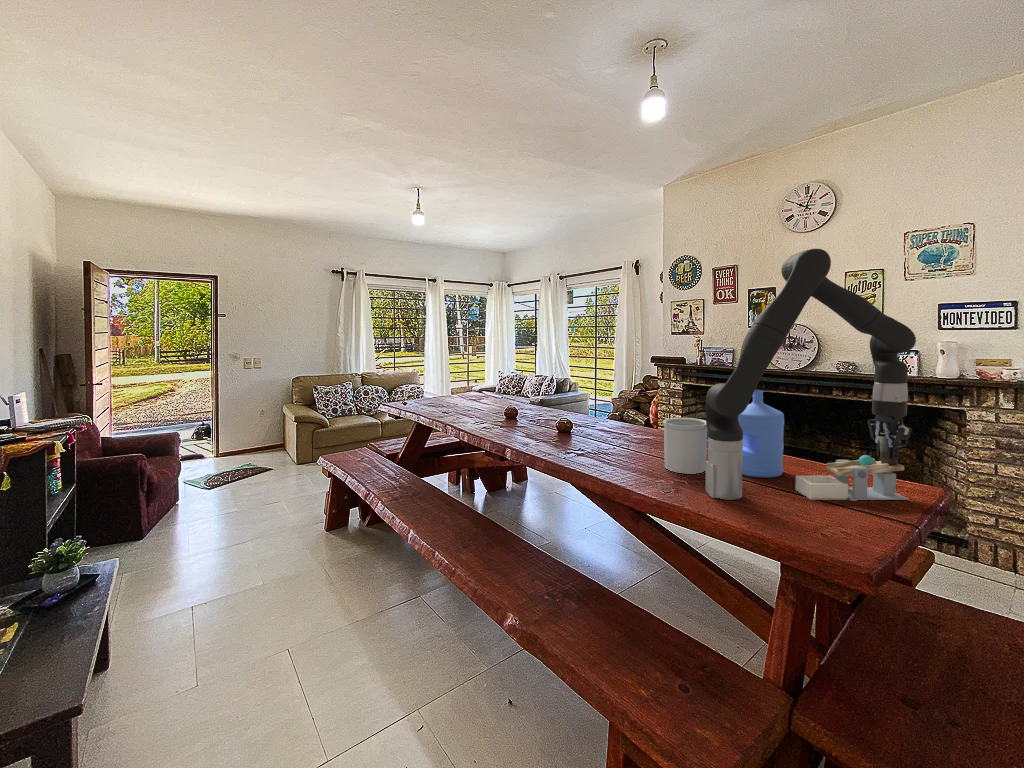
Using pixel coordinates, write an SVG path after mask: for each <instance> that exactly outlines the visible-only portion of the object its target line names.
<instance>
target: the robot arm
mask: <svg viewBox="0 0 1024 768" xmlns="http://www.w3.org/2000/svg"><path fill="white" fill-rule="evenodd" d="M831 265H832V260H831V256H830V255H829V253H828V252H827V251H826V250H825V249H822V248H810V249H806V250H803V251H801V252H798V253H794V254H793V255H790V256H788V257H787V258H786V259H785V260H784V261H783V263H782V266H781V270H780V271H781V275H782V279H784V281H785V282H786V283H785V284H784V286H783V287H782V289H781V291H780V292H779V294H778V295H777V296H776V297H775V298H774V299H773V300H772V301H771V302H770V303H768V305H767V306H766V307H765V308H764V309H763V310H762V311H761V312H760V313H759V315H758V316H757V317H756V318H755V320H754V321H753V322H752V325H751V326H750V328H749V330H748V332H747V333H746V335H745V337H744V339H743V341H742V345H741V349H740V353H739V358H738V362H737V364H736V367H735V369H734V370H733V372H732V373H731V375H730V376H729V378H728V379H727V381H726V382H725V383H724V382H722V383H721V382H719V383H717V384H714V385H713V386H711V387H709V388H708V391H707V393H706V395H705V421H706V426H707V460H706V470H705V488H704V489H705V490H706V491H705V492H706V493H707V494H708V495H709V496H710V497H711V498H712V499H719V498H720V500H728V501H731V500H732V501H734V500H740V499H741V498H742V497H743V475H742V468H743V430H742V428H741V426H740V424H739V421H738V415H740V414H741V413H743V411H744V410H745V409H746V408H747V406H748V405H749V404H750V401H751V400H752V399H753V393H754V391H756V389H757V386H759V383H760V381H761V378H762V377H763V376H764V373H765V372H766V371H767V369H768V367H769V366H770V364H771V362H772V361H773V360H774V357H775V356H776V355H777V353H778V351H779V350H780V348H781V346H782V345H783V343H784V341H785V340H786V339H787V337H788V335H789V333H790V332H791V329H792V328H793V326H794V325H795V323H796V321H797V319H798V318H799V316H800V314H801V312H802V311H803V309H804V308H805V305H806V304H807V302H808V301H809V300H810V298H811V297H812V298H814V299H815V300H817V301H818V302H820V303H821V304H823V305H824V306H826V307H827V308H829V309H830V310H831V311H833V312H834V313H835V314H836V315H838V316H839V317H840V318H841V319H843V320H844V321H845V322H846V323H848V324H849V325H850V326H851V327H853V329H855V330H857V331H858V332H860V333H861V334H865V335H869V336H870V339H869V351H870V354H871V359H872V362H873V365H874V384H873V388H872V400H871V401H872V403H871V404H872V406H871V413H872V414H873V415H874V416H875V417H874V419H873V418H872V419H868V420H867V424H868V429H869V434H870V439H871V440H873V441H874V442H875V443H876V456H878V457H880V442H879V436H882V435H885V437H886V439H888V445H889V447H888V460H891V461H894V460H897V461H899V451H900V448H905V447H907V445H908V442H909V439H910V437H911V434H912V431H913V429H912V428H911V427H907V426H905V425H904V421H903V419H904V417H906V416H907V415H908V402H909V401H908V397H909V396H908V395H909V390H908V389H909V388H908V372H909V371H908V370H909V369H908V364H907V363H906V362H903V361H901V360H900V358H899V356H898V355H899V354H903V353H906V352H909V351H911V350H912V349H913V348H914V347H915V346H916V342H917V338H916V334H915V333H914V331H913V330H912V329H911V328H910V327H909V326H907V325H905V324H903V323H902V322H901V321H898V320H897V319H894V318H892V317H891V316H889V315H886V314H885V313H883V312H882V311H881V310H880V309H879V308H877V306H874V304H873V303H871V302H870V301H869V300H868V299H866V298H865V297H863V296H861V295H859V294H857V293H855V292H853V291H851V290H850V289H847V288H845V287H842V286H840V285H839V284H838V283H835V282H834V281H832V280H830V279H829V278H828V277H827V276H828V274H829V273H830V270H831ZM891 435H893V436H891ZM893 439H895V441H894V443H893Z"/></svg>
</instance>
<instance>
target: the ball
mask: <svg viewBox="0 0 1024 768" xmlns="http://www.w3.org/2000/svg"><path fill="white" fill-rule="evenodd" d="M872 458H873V457H872V456H871V455H867V454H863V455H860V457H859V458H858V460H859V462H860V464H862V465H863V466H865V465H872V464H873V459H874V458H873V459H872Z"/></svg>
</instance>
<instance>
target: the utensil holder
mask: <svg viewBox="0 0 1024 768" xmlns="http://www.w3.org/2000/svg"><path fill="white" fill-rule="evenodd" d="M662 422H663V423H662V424H663V437H664V438H663V439H664V441H663V442H664V445H663V449H664V451H663V452H664V469H665V468H666V469H668V470H670V471H673V472H678V473H685V474H686V473H687V474H696V473H702V472H704V471H705V472H706V461H707V458H708V429H707V426H706V419H700V418H694V417H672V418H671V417H670V418H665V419H664V420H663V421H662ZM666 469H665V470H666ZM668 470H667V471H668ZM670 471H669V472H670ZM673 472H672V473H673ZM705 472H704V473H705ZM702 474H703V473H702Z"/></svg>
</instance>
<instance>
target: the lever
mask: <svg viewBox="0 0 1024 768" xmlns="http://www.w3.org/2000/svg"><path fill="white" fill-rule="evenodd" d="M891 436H894V435H891ZM894 441H895V439H893V443H894ZM879 442H880V456H879V457H880V460H878V461H877V460H876V459H875V458H873V457H872V459H873V464H872V465H865V466H863V465H862V464H860V462H859V459H856V460H855V459H854V460H849V461H843V462H836V461H835V462H827V463H826V464H825V467H826V471H827V472H829V473H831V474H833V475H834V476H835V475H837V476H839V477H842V476H849V477H851V476H852V477H853V469H854V467H866V468H868V475H870V474H872V475H873V473H882V472H892V473H893V472H900V471H905V465H902V464H899V463H898V460H894V461H891V460H888V447H889V445H888V439H886V437H885V435H882V436H879Z"/></svg>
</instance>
